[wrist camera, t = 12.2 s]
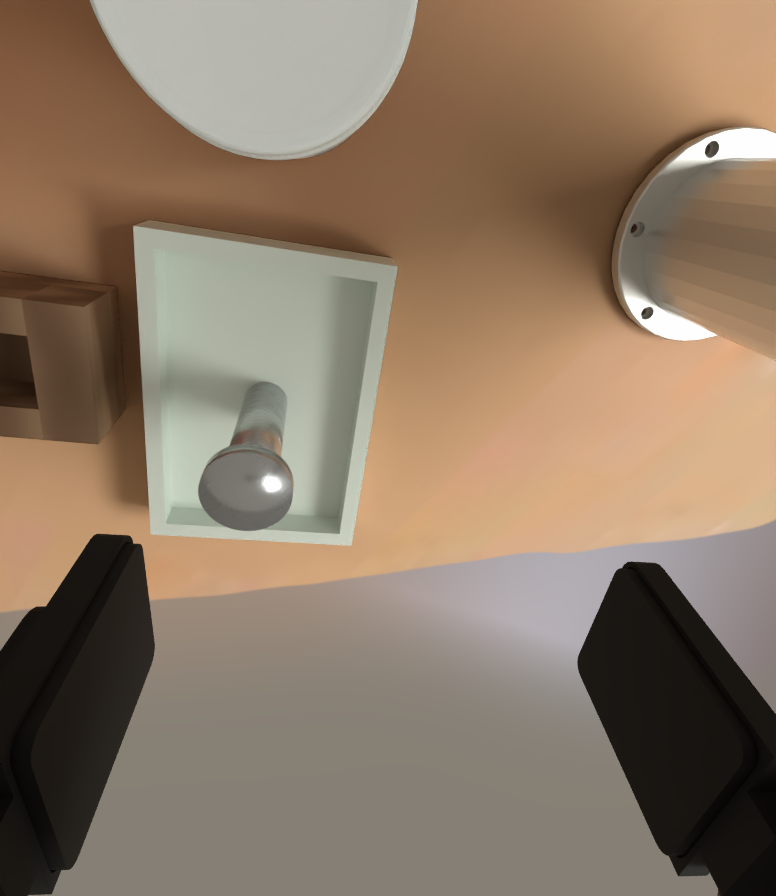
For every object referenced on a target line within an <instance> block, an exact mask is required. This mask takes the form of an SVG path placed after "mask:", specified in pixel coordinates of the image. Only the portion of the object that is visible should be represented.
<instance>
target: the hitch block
mask: <svg viewBox="0 0 776 896" xmlns="http://www.w3.org/2000/svg"><path fill="white" fill-rule="evenodd" d="M125 409H126V404H125V390H124V377H123V364H122V350H121V337H120V323H119V310H118V296H117V287H116V286H109V285H101V284H94V283H86V282H79V281H72V280H64V279H57V278H49V277H42V276H34V275H27V274H19V273H12V272H5V271H0V436H4V437H16V438H28V439H40V440H52V441H64V442H76V443H88V444H99V443H100V442H101V440H102V439H103V438H104V436H105V435H106V434H107V432H108V431H109V430H110V429H111V427H112V426H113V425H114V423H115V422H116V421H117V420H118V418H119V417H120V416H121V414H122V413H123V412H124V411H125Z"/></svg>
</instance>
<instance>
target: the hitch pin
mask: <svg viewBox="0 0 776 896" xmlns="http://www.w3.org/2000/svg"><path fill="white" fill-rule="evenodd" d="M287 405H288V401H287V396H286V394H285V392H284V391H283V390H282V389H281V388H280V387H279V386H277V385H276V384H273V383H270V382H260V383H256V384H254V385H253V386H251V387H250V388H249V389H248V390H247V392H246V394H245V397H244V400H243V404H242V407H241V410H240V413H239V416H238V420H237V423H236V426H235V429H234V432H233V436H232V439H231V442H230V445H229V447H226V448H224V449H222V450H220V451H219V452H217V453H216V454H215V455H213V456H212V457H211V458H210V460H209V461H208V462H207V464H206V466H205V468H204V471H203V473H202V476H201V479H200V482H199V486H198V496H199V500H200V503H201V505H202V507H203V509H204V510H205V512H206V513H207V514H208V515H209V516H210V517H211V518H212V519H213V520H215V521H216V522H218V523H219V524H221V525H223V526H225V527H228V528H231V529H234V530H240V531H256V530H261V529H265V528H268V527H270V526H272V525H274V524H276V523H277V522H278V521H280V520H281V519H282V518H283V517H284V516H285V515H286V513H287V512H288V510H289V508H290V506H291V503H292V499H293V487H294V481H293V475H292V472H291V470H290V468H289V466H288V465H287V463H286V462H285V461H284V460H283V458H281V452H282V444H283V436H284V428H285V420H286V413H287Z"/></svg>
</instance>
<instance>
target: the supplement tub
mask: <svg viewBox="0 0 776 896" xmlns="http://www.w3.org/2000/svg"><path fill="white" fill-rule="evenodd" d="M90 3H91V5H92V8H93V11H94V13H95V15H96V17H97V19H98V22H99V24H100V26H101V28H102V30H103V32H104V34H105V35H106V37H107V39H108V41H109V43H110V45H111V46H112V48H113V50H114V51H115V53H116V54H117V56H118V58H119V59H120V61H121V62H122V64H123V65H124V66H125V68H126V69H127V71H128V72H129V73H130V75H131V76H132V77H133V79H134V80H135V81H136V82H137V83H138V85H139V86H140V87H141V88H142V89H143V90H144V91H145V93H146V94H147V95H148V96H149V97H150V98H151V99H152V100H153V101H154V102H155V103H156V104H157V105H158V106H160V107H161V108H162V109H163V110H164V111H165V112H166V113H167V114H169V115H170V116H171V117H172V118H173V119H175V120H176V121H177V122H178V123H180V124H181V125H182V126H183V127H184V128H186V129H187V130H189V131H190V132H192V133H193V134H194V135H196V136H198V137H200V138H201V139H203V140H205V141H207V142H208V143H210V144H212V145H214V146H216V147H218V148H221V149H224V150H226V151H229V152H232V153H234V154H237V155H242V156H247V157H251V158H256V159H264V160H289V159H300V158H308V157H313V156H317V155H320V154H323V153H326V152H328V151H330V150H332V149H333V148H335V147H337V146H338V145H340V144H341V143H343V142H344V141H345V140H347V139H348V138H349V137H350V136H351V135H352V134H353V133H354V132H355V131H357V130H358V129H359V128H360V127H361V126H362V125H363V124H364V123H365V122H366V121H367V120H368V119H369V118H370V116H371V115H372V114H373V113H374V112H375V111H376V109H377V108H378V107H379V105H380V104H381V102H382V101H383V99H384V98H385V97H386V95H387V94H388V92H389V90H390V88H391V87H392V85H393V83H394V81H395V79H396V77H397V75H398V73H399V71H400V68H401V66H402V64H403V62H404V59H405V56H406V53H407V50H408V47H409V43H410V40H411V36H412V31H413V27H414V22H415V16H416V9H417V4H418V0H90Z"/></svg>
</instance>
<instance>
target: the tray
mask: <svg viewBox="0 0 776 896" xmlns="http://www.w3.org/2000/svg"><path fill="white" fill-rule="evenodd" d="M133 235H134V252H135V270H136V287H137V305H138V322H139V339H140V357H141V374H142V392H143V409H144V426H145V444H146V461H147V479H148V496H149V513H150V531H151V535H168V536H186V537H204V538H223V539H241V540H259V541H277V542H295V543H313V544H331V545H349V546H351V545H352V539H353V533H354V527H355V521H356V515H357V509H358V503H359V497H360V491H361V485H362V479H363V473H364V467H365V461H366V455H367V449H368V443H369V437H370V431H371V425H372V419H373V413H374V407H375V401H376V395H377V389H378V383H379V377H380V371H381V365H382V359H383V353H384V347H385V341H386V335H387V329H388V323H389V317H390V311H391V305H392V299H393V293H394V287H395V281H396V275H397V269H398V266H397V265H396V264H395V262H394V261H393V260H392V258H388V257H382V256H375V255H369V254H363V253H356V252H350V251H344V250H337V249H331V248H324V247H318V246H312V245H305V244H299V243H293V242H286V241H280V240H274V239H267V238H261V237H255V236H248V235H242V234H236V233H229V232H223V231H216V230H210V229H204V228H197V227H191V226H185V225H178V224H172V223H166V222H159V221H153V220H148V221H145V222H142V223H139V224H136V225H134V226H133ZM260 382H270V383H273V384H276V385H277V386H279V387H280V388H281V389H282V390H283V391H284V392H285V394H286V396H287V401H288V405H287V413H286V420H285V428H284V436H283V444H282V452H281V458H283V460H284V461H285V462H286V463H287V465H288V466H289V468H290V470H291V472H292V475H293V481H294V487H293V499H292V503H291V506H290V508H289V510H288V512H287V513H286V515H285V516H284V517H283V518H282V519H281V520H280V521H278V522H277V523H276V524H274V525H272V526H270V527H268V528H265V529H261V530H256V531H240V530H234V529H231V528H228V527H225V526H223V525H221V524H219V523H218V522H216V521H215V520H213V519H212V518H211V517H210V516H209V515H208V514H207V513H206V512H205V510H204V509H203V507H202V505H201V503H200V500H199V496H198V486H199V482H200V479H201V476H202V473H203V471H204V468H205V466H206V464H207V462H208V461H209V460H210V458H211V457H212V456H213V455H215V454H216V453H217V452H219V451H220V450H222V449H224V448H226V447H229V445H230V442H231V439H232V436H233V432H234V429H235V426H236V423H237V420H238V416H239V413H240V410H241V407H242V404H243V400H244V397H245V394H246V392H247V390H248V389H249V388H250V387H251V386H253V385H254V384H256V383H260Z"/></svg>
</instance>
